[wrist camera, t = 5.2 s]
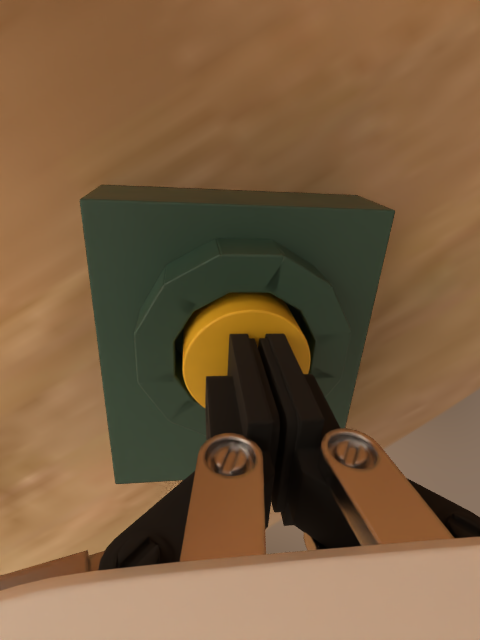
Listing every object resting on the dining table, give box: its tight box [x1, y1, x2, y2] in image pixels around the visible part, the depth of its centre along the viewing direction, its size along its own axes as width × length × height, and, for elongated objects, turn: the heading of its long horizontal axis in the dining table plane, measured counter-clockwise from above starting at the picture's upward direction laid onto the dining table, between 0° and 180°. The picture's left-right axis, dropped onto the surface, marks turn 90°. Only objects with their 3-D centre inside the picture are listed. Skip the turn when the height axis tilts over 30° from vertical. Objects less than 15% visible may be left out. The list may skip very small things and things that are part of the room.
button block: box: [80, 185, 395, 484], centre depth 15 cm, size 12×10×5 cm
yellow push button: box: [182, 293, 311, 408], centre depth 13 cm, size 4×4×2 cm
